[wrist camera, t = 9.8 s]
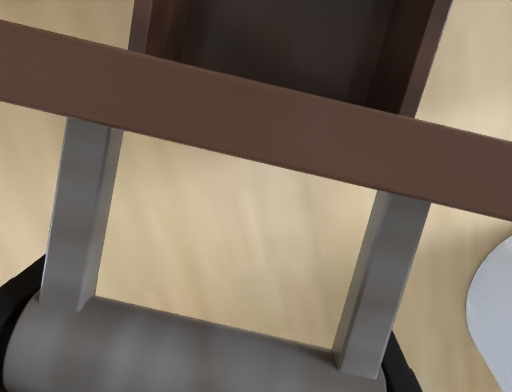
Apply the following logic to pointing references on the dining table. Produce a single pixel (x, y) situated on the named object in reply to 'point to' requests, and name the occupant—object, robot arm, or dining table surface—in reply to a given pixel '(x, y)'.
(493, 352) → the utensil holder
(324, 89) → the chest
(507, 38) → the dining table surface
